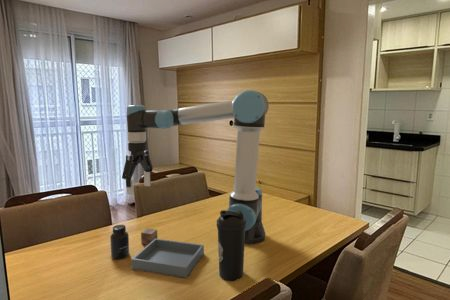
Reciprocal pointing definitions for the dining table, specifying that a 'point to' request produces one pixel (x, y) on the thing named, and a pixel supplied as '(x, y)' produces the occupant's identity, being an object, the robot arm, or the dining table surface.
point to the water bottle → (231, 244)
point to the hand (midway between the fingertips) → (139, 189)
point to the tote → (168, 258)
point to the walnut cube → (148, 236)
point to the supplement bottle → (119, 242)
